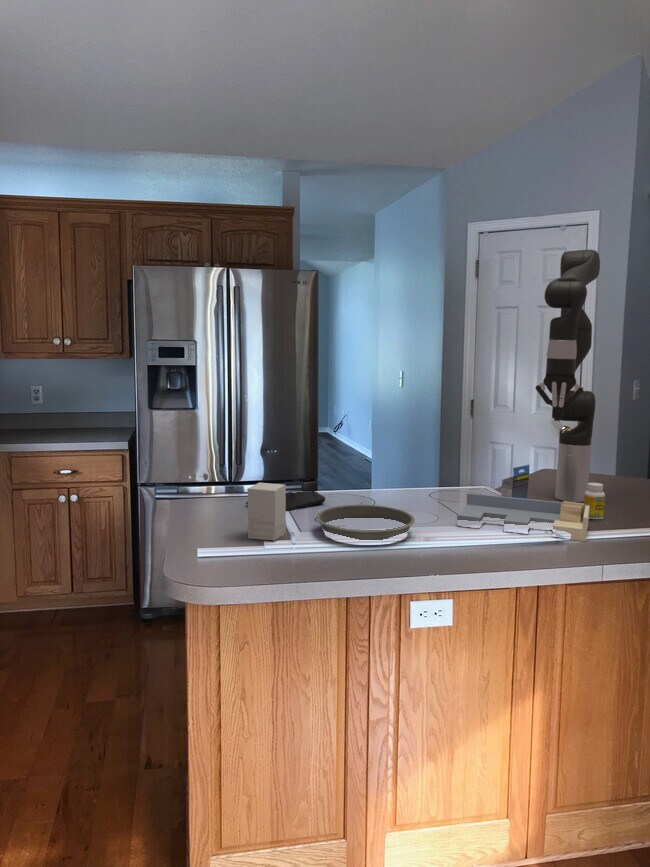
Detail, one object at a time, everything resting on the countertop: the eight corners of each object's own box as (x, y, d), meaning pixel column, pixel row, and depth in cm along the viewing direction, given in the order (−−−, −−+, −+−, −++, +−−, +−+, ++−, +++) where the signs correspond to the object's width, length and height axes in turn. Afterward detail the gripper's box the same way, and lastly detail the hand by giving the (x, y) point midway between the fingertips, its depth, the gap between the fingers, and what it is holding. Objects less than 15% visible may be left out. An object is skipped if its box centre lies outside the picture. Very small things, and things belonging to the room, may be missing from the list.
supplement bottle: (591, 514, 209) (593, 481, 207) (607, 518, 204) (610, 484, 203) (578, 516, 206) (581, 483, 204) (595, 521, 201) (597, 486, 200)
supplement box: (286, 534, 184) (287, 484, 182) (274, 542, 177) (275, 490, 175) (259, 530, 186) (259, 481, 184) (246, 538, 179) (246, 487, 177)
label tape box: (515, 502, 221) (517, 462, 219) (527, 505, 218) (530, 464, 216) (499, 507, 215) (501, 465, 213) (511, 510, 212) (514, 467, 210)
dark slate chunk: (332, 507, 212) (332, 491, 212) (262, 516, 202) (262, 499, 201) (307, 496, 225) (307, 481, 225) (240, 504, 215) (240, 488, 214)
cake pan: (304, 524, 194) (304, 507, 193) (390, 518, 201) (391, 502, 201) (334, 552, 171) (334, 533, 170) (430, 544, 178) (431, 526, 177)
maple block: (562, 515, 194) (563, 501, 194) (582, 518, 192) (583, 503, 192) (559, 520, 190) (560, 505, 189) (580, 522, 188) (581, 507, 187)
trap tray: (466, 513, 206) (467, 492, 206) (587, 527, 195) (589, 505, 194) (456, 526, 194) (457, 504, 193) (585, 541, 182) (587, 517, 181)
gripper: (587, 357, 200) (583, 420, 203) (537, 355, 205) (533, 417, 208) (586, 358, 193) (582, 423, 196) (534, 356, 198) (530, 420, 201)
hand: (557, 420), depth 202 cm, fingers closed
